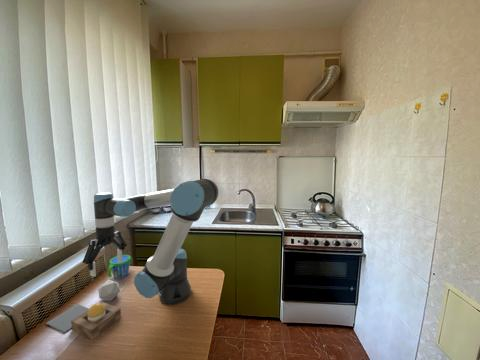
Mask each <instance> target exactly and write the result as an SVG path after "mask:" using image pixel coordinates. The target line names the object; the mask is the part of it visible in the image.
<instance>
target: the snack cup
mask: <svg viewBox="0 0 480 360" xmlns="http://www.w3.org/2000/svg"><path fill="white" fill-rule="evenodd" d="M122 257H123V262H122V263H121V262H118V260H117V255H116V256H114V257H112V258H111V259H110V260H109V261H108V263H109V266H108V267H107V277H108V278H112V276H113V278H115V279H116V280H117V279H124V278H126V277H127V276H128V275H129V271H130V265H132V264H133V257H132V256H131V255H128V254H123V255H122ZM111 272H112V273H111Z"/></svg>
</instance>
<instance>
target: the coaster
mask: <svg viewBox="0 0 480 360" xmlns="http://www.w3.org/2000/svg"><path fill="white" fill-rule="evenodd" d="M89 308H90V307H86V306H85V305H81V304H79V303H77V304H75V305H74V306H72V307H69V309H67V310H65V311H64V312H62V313H60V314H59V315H57V316H55V317H54V318H51V319H50V320H48V321H47V322H45V325H46V324H47V326H48V325H49V327H50V326H51V327H50V328H53V329H55V330H57V331H58V332H61V333H63V334H66V333H67V332H69V331H70V330H72V325H71V321H72V320H73V319H75V318H76V317H78V316H80V315H81V314H83V313H84V312H86V311H87V310H89Z"/></svg>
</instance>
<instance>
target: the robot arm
mask: <svg viewBox="0 0 480 360" xmlns="http://www.w3.org/2000/svg"><path fill="white" fill-rule="evenodd" d="M218 197H219V188H218V185H217V184H216V183H215V182H214V181H213V180H211V179H208V178H200V179H197V180H188V181H184V182H182V183H179V184H177V185H176V186H175V187H174V188H171V189H170V188H169V189H165V190H159V191H154V192H148V193H142V194H138V195H134V196H128V197H127V196H126V197H124V198H114V195H113V193H112V192H108V191H107V192H106V191H105V192H99V193H95V194H94V195H93V209H94V223H95V236H96V239H89V241H88V246H87V250H86V252H85V255H84V257H83V260H82V264H85V265H87V269H88V271H89V275H90V276H91V277H92V278H93V277H96V276H97V271H96V270H97V269H96V262H95V260H96V258H97V257H98V255H99V254H100V252H101V250H102V249H104V247H107V246H108V245H111V244H112V245H114V246H115V247H117V249H116V256H117V260H118V262H121V263H122V262H123V257H122V255H124V250H125V249H126V247H127V246H128V244H127V243H126V241H125V239H124V238H123V236H122V233H121V231H120V230H115V229H116V227H115V216H117V217H122V218H124V217H125V218H128V217H131V216H132V215H133V214H134V213H135V212H139V211H143V210H147V209H153V208H160V207H161V208H162V207H168V206H170V211H171V213H172V215H171V217H170V219H169V222H168V224H167V225H166V227H165V229H164V232H163V235H162V237H161V238H160V241H159V243H158V245H157V248H156V249H155V252H154V254H153V255H152V256H150V257H149V258H148V259H147V261H146V263H145V265H144V267H143V269H142V270H140V271H138V272H137V273H136V274H135V276H134V277H133V283H134V284H133V285H134V287H135V289H136V291H137V293H139V294H140V295H141V296H142V297H144V298H146V299H151V298H152V299H153V298H154V297H155V296H156V295H158V294H159V295H158V296H159V301H160V302H161V303H163V304H166V305H177V304H181V303H183V302H185V301H186V300H187V299H189V297H190V296H191V294H192V288H191V284H190V282H189V279H188V263H187V262H188V261H187V260H188V257H187V252H186V250H185V249H184V248H182V246H183V244H184V242H185V240H186V237H187V235H188V234H189V231H190V229H191V227H192V225H193V223H195V222H198V221H199V219H200V217H202V216H201V215H202V214H203V212H204V210H205V208H207V207H209V206H211V205H213V204H214V203H215V202H216V201H217V199H218ZM115 238H116V239H117V240H116V239H115Z"/></svg>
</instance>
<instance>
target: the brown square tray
mask: <svg viewBox="0 0 480 360" xmlns="http://www.w3.org/2000/svg"><path fill="white" fill-rule="evenodd" d="M98 303H102V304H103V305H104V306H105V312H106V315H105V316H103V317H102V318H101V319H99V320H98V321H96V322H95V323H92V322H90V321H88V310H87V311H86V312H84V313H83V314H81V315H80V316H78V317H76V318H75V319H73V320H72V321H71V325H72V329H71V331H73V332H75V333H77V334H79V335H82V336H83V337H85V338H87V339H90V340H92V341H93V340H94V339H96V338H97V337H99V336H100V334H102V333H103V332H105V331H106V330H108V328H110V326H112V325H113V324H114V323H115V322H117V321H118V320H119V319H121V318H122V313H121V311H122V310H121V308H120V307H117V306H115V305H112V304H109V303H106V302H103V301H99V302H98Z"/></svg>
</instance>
